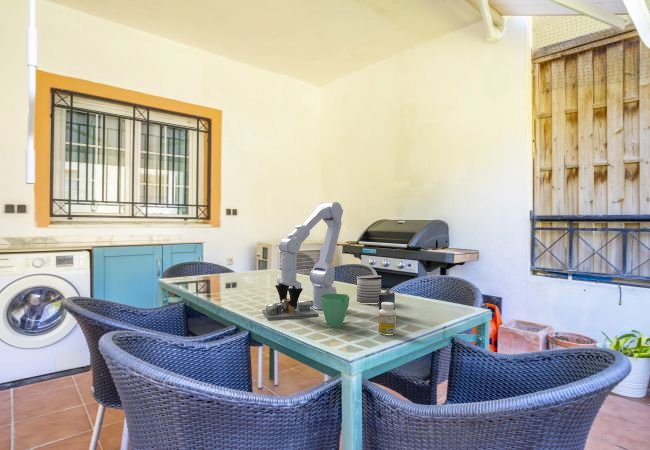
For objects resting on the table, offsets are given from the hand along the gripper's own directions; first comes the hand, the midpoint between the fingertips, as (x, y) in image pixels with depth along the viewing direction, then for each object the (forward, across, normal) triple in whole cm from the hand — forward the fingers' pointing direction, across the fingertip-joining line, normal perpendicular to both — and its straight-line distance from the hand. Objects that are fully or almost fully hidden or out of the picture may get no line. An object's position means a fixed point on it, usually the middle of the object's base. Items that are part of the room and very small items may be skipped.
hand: (288, 304), depth 138 cm
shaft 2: (+3, +2, +6) cm, 8 cm away
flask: (+4, +24, +29) cm, 38 cm away
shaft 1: (+3, 0, -6) cm, 7 cm away
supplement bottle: (+4, +39, +13) cm, 42 cm away
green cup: (+4, +22, +7) cm, 23 cm away
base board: (+3, +1, 0) cm, 4 cm away
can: (+4, +2, +41) cm, 41 cm away
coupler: (+2, 0, 0) cm, 2 cm away
